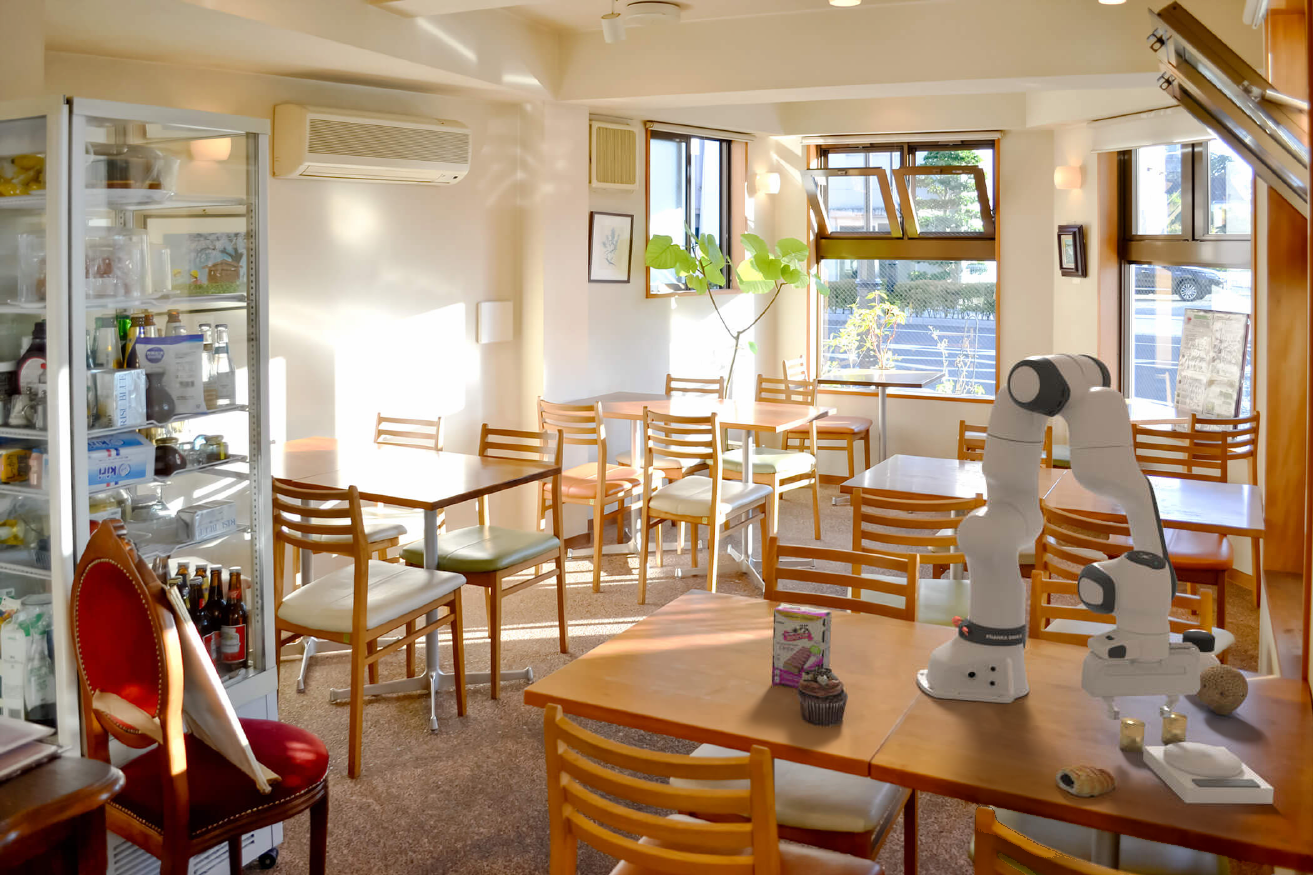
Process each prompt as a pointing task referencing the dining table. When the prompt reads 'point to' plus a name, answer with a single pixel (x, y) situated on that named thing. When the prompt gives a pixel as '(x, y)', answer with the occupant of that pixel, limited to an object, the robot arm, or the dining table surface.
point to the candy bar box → (799, 642)
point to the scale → (1206, 774)
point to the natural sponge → (1222, 688)
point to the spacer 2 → (1174, 728)
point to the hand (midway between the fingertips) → (1139, 717)
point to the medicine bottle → (1202, 647)
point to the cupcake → (821, 697)
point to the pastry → (1085, 780)
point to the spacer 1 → (1131, 735)
